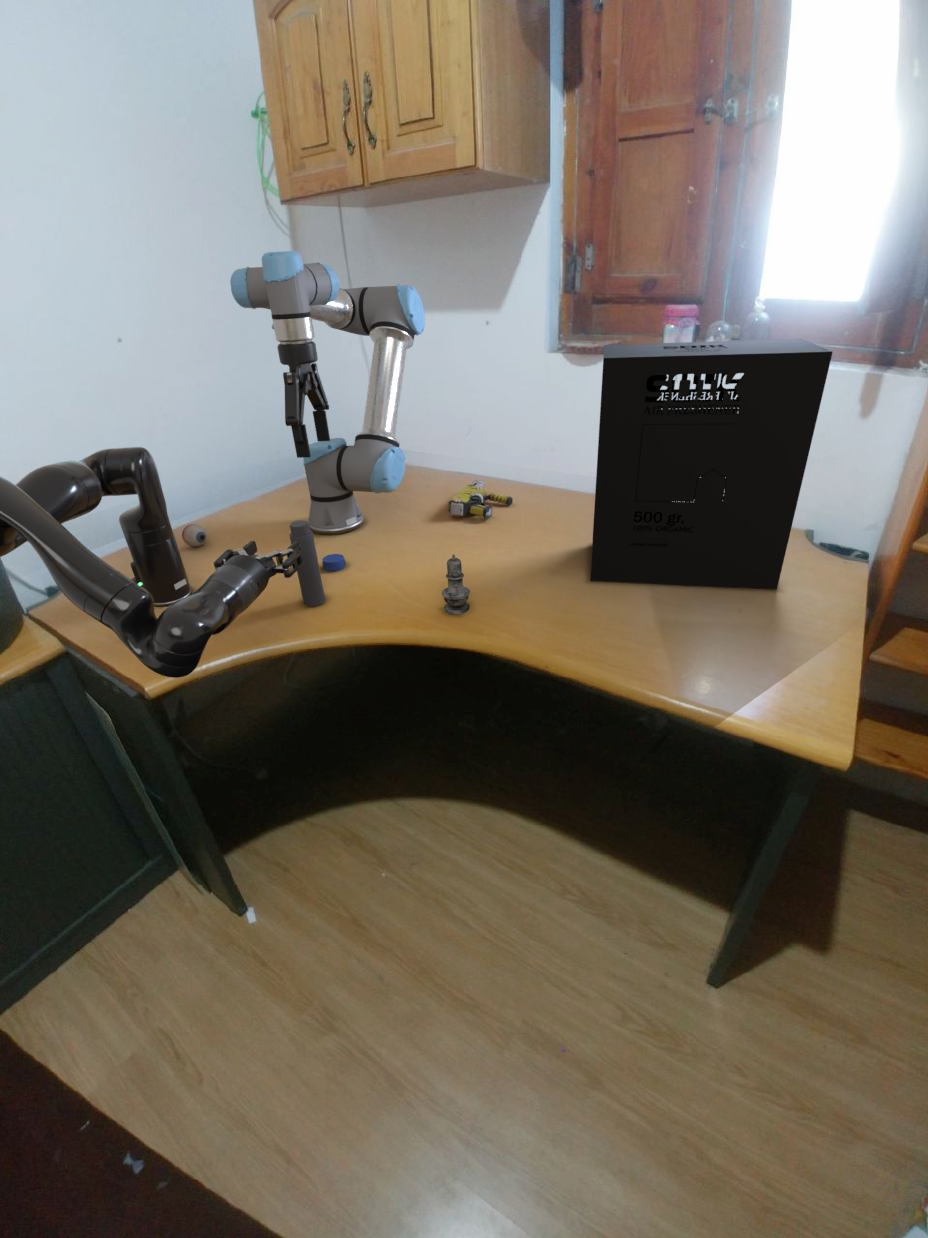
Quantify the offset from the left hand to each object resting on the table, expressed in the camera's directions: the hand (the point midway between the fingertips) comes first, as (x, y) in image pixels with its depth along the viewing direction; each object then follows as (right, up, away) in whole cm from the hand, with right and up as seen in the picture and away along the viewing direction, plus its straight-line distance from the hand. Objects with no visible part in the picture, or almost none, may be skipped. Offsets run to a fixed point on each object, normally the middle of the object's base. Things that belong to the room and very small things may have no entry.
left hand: (276, 545), depth 111 cm
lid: (+3, +1, +33) cm, 33 cm away
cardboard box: (+83, -1, +25) cm, 86 cm away
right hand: (+2, +24, +20) cm, 31 cm away
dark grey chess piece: (+33, -11, +13) cm, 37 cm away
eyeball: (-36, +6, +50) cm, 62 cm away
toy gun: (+41, +19, +65) cm, 79 cm away
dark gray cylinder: (+3, -10, +19) cm, 21 cm away
